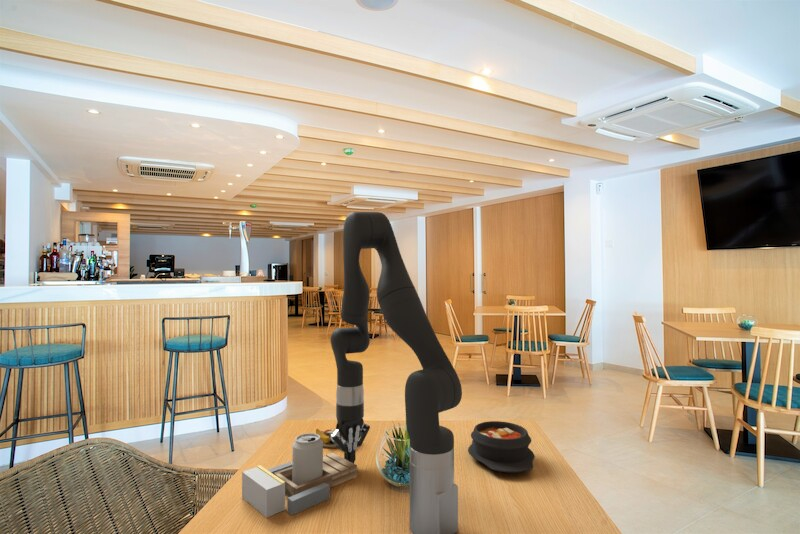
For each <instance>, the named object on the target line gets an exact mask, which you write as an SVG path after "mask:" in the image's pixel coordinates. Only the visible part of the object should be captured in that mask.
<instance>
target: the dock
mask: <svg viewBox="0 0 800 534" xmlns="http://www.w3.org/2000/svg"><path fill="white" fill-rule="evenodd" d="M289 467H292V462H291V461H288V462H285V463H283V464H278V465H277V466H274V467H271V468H268V469H266V468H265V467H264V466H262V465H261V464H259V465H256V466H255V467H253V468H250V469H246V470H243V471H242V472H241V482H242V483H241V488H242V489H241V498H242V499H244V500H245V501H246V502H247V503H248V504H249V505H250V506H252V507H253V508H254V509H255V510H256V511H257V512H259V513H260V514H262V515H263V517H265V518H266V519H267V518H270V517H271V516H272V517H273V516H274V515H277V514H278V513H281V512H283V511H285V510H286V511H287V513H288V514H289V515H292V516H293V515H296V514H298V513H300V512H301V511H305V510H307V509H309V508H311V507H313V506H315V505H318V504H320V503H322V502H324V501H327V500H329V499H330V496H331V494H330V485H328V484H326V483H322V484H320V485H318V486H315V487H313V488H310V489H308V490H305V491H303V492H301V493H298V494H296V495H293V496H291V497H289V496H287V498H286V494H285V482H284V481H283V480H281V479H280V478H279V477H277V476H276V475H274V473H275V472H278V471H281V470H284V469H286V468H289ZM286 499H287V502H286ZM286 505H287V506H286ZM286 508H287V509H286Z"/></svg>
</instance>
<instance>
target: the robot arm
mask: <svg viewBox="0 0 800 534" xmlns="http://www.w3.org/2000/svg"><path fill="white" fill-rule="evenodd" d="M343 223H344V224H343V230H342V234H343V235H342V250H343V251H342V253H343V255H342V256H343V258H342V259H343V292H342V293H343V295H342V299H341V300H342V302H341V308H340V319H341V320H342V321H343V322H344V323H346V324H349V325H352V326H354V327H340V328H339V327H338V328H335V329H334V330H333V331H332V332H331V335H330V345H331V350H332V351H333V352H332V353H333V356H334V360H335V365H336V373H337V375H336V379H337V380H336V384H337V385H336V392H335V393H336V394H335V396H336V397H335V401H336V402H335V406H336V407H335V408H336V409H335V411H336V412H335V416H336V420H337V421H336V425H335V429H336V430H335V432H334V433H333V434H330V435H329V438H330V439H331V441H332V442H333V443H334V444H335V445H336V447H335V448H337V449H338V450H340V451H341V452H343V454H344V455H343V458H344V459H346V460H348V461H350V462H352V463H354V464H355V462H356V456H357V455H356V452H357V451H356V450H357V449H358V447H361V446H362V445H363V443H364V441H365V439H366V437H367V435H368V433H369V431H370V429H371V426H370V425H368V424H367V423H365V422H364V419H363V418H364V416H365V413H364V412H365V409H364V407H365V398H364V397H365V392H364V368H363V367H364V366H363V363H362V362H360V361H357V360H356V361H355V360H349V359H348V358H347V356H346V355H348V354H358V353H359V354H360V353H361V354H362V353H364V352H365V351H366V350H367V349H368V348H369V347H370V341H371V340H370V334H369V326H368V310H369V304H370V296H371V295H370V288H369V284H368V282H367V280H366V278H365V275H364V274H363V271H362V268H361V266H360V254H361V251H362V250H363V249H364V250H366V249H374V250H375V251H376V252H377V254H378V257H379V260H380V264H381V269H380V270H381V271H380V276H379V278H378V284H377V287H376V300H377V302H378V306H379V308H380V310H381V313H382V316H383V317H384V320H385V322H386V324H387V325H388V326H389V328H390V329H391V330H392V331H393V332H394V333H395V334H396V335H397V336H398V337H399V338H400V339H401V340H402V341H403V342H404V343H405V344H406V345H408V347H409V348H410V349H411V350H412V351H413V353H414V354H415V356H416V358H417V359H418V361H419V363H420V365H421V368H422V369H418V370H416V371H413V372H411V373H410V374H409V376H407V379H406V380H405V381H406V382H405V385H404V386H405V387H404V405H405V407H404V409H405V410H404V411H405V426H406V431H407V435H408V438H409V531H410V533H411V534H456V533H458V532H459V486H458V484H455V436H454V433H453V431H452V430H451V429H449V428H448V427H445V426H442V425H440V419H439V418H440V417H439V416H440V415H439V414H440V413H443V412H446V411H448V410H452V409H454V408H457V406H459V404H460V403H461V401H462V396H463V390H462V389H463V388H462V384H461V380H460V378H459V376H458V374H457V371H456V370H455V368H454V366H453V364H452V362H451V361H450V359H449V357H448V355H447V353H446V352H445V350H444V348H443V346H442V344H441V343H440V340H439V339H438V337H437V334H436V332H435V331H434V329H433V326H432V324H431V322H430V319H429V317H428V316H427V313H426V311H425V308H424V305H423V303H422V301H421V298H420V296H419V294H418V291H417V289H416V288H415V285H414V283H413V281H412V279H411V277H410V274H409V272H408V269H407V267H406V265H405V263H404V260H403V257H402V253H401V251H400V248H399V245H398V240H397V238H396V236H395V233H394V230H393V226H392V224H391V222H390V219H389V218H388V217H387V215H386V214H385V213H382V212H379V211H353V212H350V213H348V214H347V215H346V217H345V221H344V222H343ZM339 434H340V435H339ZM340 436H341V439H342V442H343V443H342V442H341V440H340Z"/></svg>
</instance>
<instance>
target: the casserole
mask: <svg viewBox="0 0 800 534" xmlns="http://www.w3.org/2000/svg"><path fill="white" fill-rule="evenodd" d="M470 437H471V439H472V442H471V444H470V445H469V447H468V449H467V452H468V454H469V455H470V457H472V458H473V459H474V460H476V461H478V462H480V463H482V464H484V465H485V466H486V467H487V468H489V469H490V470H492V471H495V472H500V473H523V472H527V471H530V470H533V468H534V464H533V463H534V459H535V453H534V452H533V450H532V449H531V448H530V447H529V446H530V444H531V443H532V438H531V436H530V435H529V432H528V430H527V429H526V428H525V427H524V426H521V425H519V424H515V423H511V422H507V421H500V420H498V421H497V420H495V421H491V420H489V421H484V422H480V423H478V424H476V425H475V426H474V428H473V431H472V432H471V433H470Z"/></svg>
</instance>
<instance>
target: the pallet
mask: <svg viewBox="0 0 800 534" xmlns="http://www.w3.org/2000/svg"><path fill="white" fill-rule="evenodd" d="M274 475H276V476H277V477H279V478H280V479H281V480H283V481H284V482H285V496H287V497H291V496H293V495H296V494H298V493H301V492H303V491H305V490H308V489H310V488H313V487H315V486H318V485H320V484H322V483H326V484H328V485H330V488H333V487H335V486H338V485H340V484H343V483H345V482H347V481H350V480H352V479H355V478H357V477H358V464H355V462H354V463H352V462H350V461H348V460H346V459H344V457H342V456H340V455H338V454H336V453H335V452H331V453H327V454H326V455H323V476H322V477H319V478H317V479H314V480H312V481H309V482H306V483H304V484H301V485H299V486H297V485H296V484H294V483H293V482H292V467H289V468H286V469H284V470H281V471H278V472H275V473H274Z"/></svg>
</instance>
